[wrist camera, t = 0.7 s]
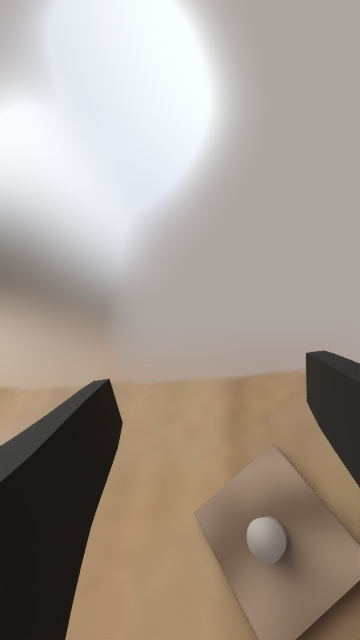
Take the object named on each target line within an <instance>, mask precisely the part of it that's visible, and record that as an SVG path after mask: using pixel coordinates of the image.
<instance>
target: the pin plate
mask: <svg viewBox="0 0 360 640" xmlns="http://www.w3.org/2000/svg"><path fill="white" fill-rule="evenodd" d="M194 514H195V516H196V518H197V520H198V522H199V524H200V526H201V528H202V530H203V532H204V534H205V536H206V538H207V540H208V542H209V544H210V546H211V548H212V550H213V552H214V553H215V555H216V557H217V559H218V561H219V563H220V565H221V567H222V569H223V571H224V573H225V575H226V577H227V579H228V581H229V583H230V585H231V587H232V589H233V591H234V593H235V595H236V596H237V598H238V600H239V602H240V604H241V606H242V608H243V610H244V612H245V614H246V616H247V618H248V620H249V622H250V624H251V626H252V628H253V630H254V632H255V634H256V636H257V637H258V639H259V640H296V639H297V638H298V637H299V636H300V635H301V634H302V633H303V632H304V631H305V630H306V629H308V628H309V627H310V626H311V625H312V624H313V623H314V622H315V621H316V620H317V619H318V618H319V617H321V616H322V615H323V614H324V613H325V612H326V611H327V610H328V609H329V608H330V607H331V606H332V605H333V604H335V603H336V602H337V601H338V600H339V599H340V598H341V597H342V596H343V595H344V594H345V593H346V592H347V591H349V590H350V589H351V588H352V587H353V586H354V585H355V584H356V583H357V582H358V581H359V580H360V546H359V545H358V543H357V542H356V541H355V540H354V539H353V537H352V536H351V535H350V534H349V533H348V532H347V530H346V529H345V528H344V527H343V526H342V524H341V523H340V522H339V521H338V520H337V519H336V517H335V516H334V515H333V514H332V513H331V511H330V510H329V509H328V508H327V507H326V506H325V504H324V503H323V502H322V501H321V500H320V498H319V497H318V496H317V495H316V494H315V493H314V491H313V490H312V489H311V488H310V487H309V485H308V484H307V483H306V482H305V481H304V480H303V478H302V477H301V476H300V475H299V474H298V472H297V471H296V470H295V469H294V468H293V467H292V465H291V464H290V463H289V462H288V461H287V459H286V458H285V457H284V456H283V455H282V454H281V452H280V451H279V450H278V449H277V448H276V446H275V445H274V444H272V445H271V446H270V447H269V448H268V449H267V450H266V451H264V452H263V453H262V454H261V455H260V456H259V457H257V458H256V459H255V460H254V461H253V462H252V463H251V464H249V465H248V466H247V467H246V468H245V469H244V470H242V471H241V472H240V473H239V474H238V475H237V476H236V477H234V478H233V479H232V480H231V481H230V482H229V483H228V484H226V485H225V486H224V487H223V488H222V489H221V490H219V491H218V492H217V493H216V494H215V495H214V496H213V497H211V498H210V499H209V500H208V501H207V502H206V503H204V504H203V505H202V506H201V507H200V508H199V509H198V510H196V511H195V512H194Z"/></svg>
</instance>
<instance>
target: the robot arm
mask: <svg viewBox="0 0 360 640" xmlns="http://www.w3.org/2000/svg"><path fill="white" fill-rule="evenodd" d="M306 381H307V403H308V405H309V407H310V409H311V411H312V413H313V415H314V417H315V419H316V421H317V423H318V425H319V427H320V429H321V430H322V432H323V433H324V435H325V436H326V438H327V439H328V441H329V442H330V444H331V446H332V447H333V449H334V450H335V452H336V453H337V454H338V456H339V457H340V459H341V460H342V462H343V463H344V465H345V466H346V468H347V469H348V471H349V472H350V474H351V475H352V477H353V478H354V480H355V481H356V483H357V484H358V486H359V487H360V363H357V362H354V361H352V360H350V359H347V358H344V357H342V356H339V355H336V354H334V353H331V352H327V351H317V352H309V353H306ZM122 424H123V423H122V419H121V416H120V412H119V409H118V406H117V402H116V399H115V396H114V392H113V389H112V386H111V382H110V379H106V380H98V381H93V382H92V383H90V384H88V385H87V386H85V387H84V388H82V389H81V390H80V391H78V392H77V393H75V394H74V395H73V396H71V397H70V398H69V399H67V400H66V401H65V402H63V403H62V404H61V405H59V406H58V407H57V408H55V409H54V410H53V411H51V412H50V413H48V414H47V415H46V416H44V417H43V418H41V419H40V420H39V421H37V422H36V423H34V424H33V425H31V426H30V427H28V428H27V429H26V430H24V431H23V432H21V433H20V434H18V435H17V436H15V437H14V438H12V439H11V440H9V441H8V442H6V443H4V444H3V445H1V446H0V640H65V638H66V633H67V628H68V623H69V618H70V613H71V609H72V604H73V600H74V596H75V591H76V587H77V582H78V578H79V574H80V569H81V565H82V561H83V557H84V553H85V549H86V545H87V541H88V537H89V533H90V529H91V526H92V522H93V519H94V516H95V513H96V510H97V507H98V504H99V501H100V498H101V495H102V493H103V490H104V487H105V484H106V481H107V478H108V475H109V472H110V470H111V467H112V464H113V461H114V458H115V455H116V452H117V449H118V444H119V439H120V434H121V429H122Z"/></svg>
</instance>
